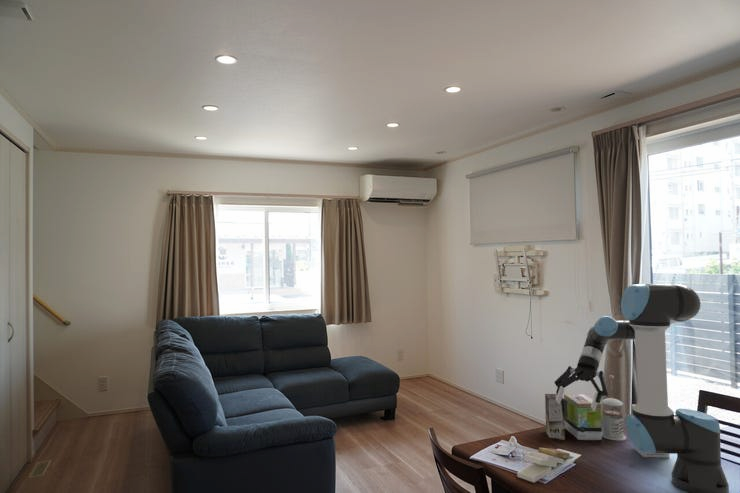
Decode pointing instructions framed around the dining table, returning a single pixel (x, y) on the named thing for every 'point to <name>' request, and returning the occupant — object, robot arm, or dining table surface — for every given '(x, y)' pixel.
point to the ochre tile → (554, 452)
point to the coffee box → (554, 417)
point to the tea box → (582, 417)
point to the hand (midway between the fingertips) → (574, 405)
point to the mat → (565, 462)
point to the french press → (612, 419)
